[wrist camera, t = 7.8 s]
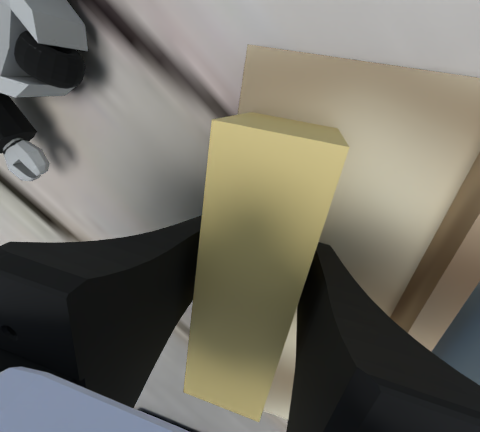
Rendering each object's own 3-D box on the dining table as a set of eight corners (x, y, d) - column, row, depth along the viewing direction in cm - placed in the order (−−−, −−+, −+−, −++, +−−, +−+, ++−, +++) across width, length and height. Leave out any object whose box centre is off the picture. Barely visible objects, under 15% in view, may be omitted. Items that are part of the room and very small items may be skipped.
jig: (468, 470, 15) (495, 536, 12) (205, 371, 17) (188, 410, 15) (830, 134, 7) (1069, 150, 5) (254, 49, 10) (234, 34, 7)
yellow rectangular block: (275, 336, 13) (258, 422, 10) (218, 317, 14) (183, 392, 10) (337, 128, 9) (349, 147, 5) (251, 112, 10) (211, 119, 6)
